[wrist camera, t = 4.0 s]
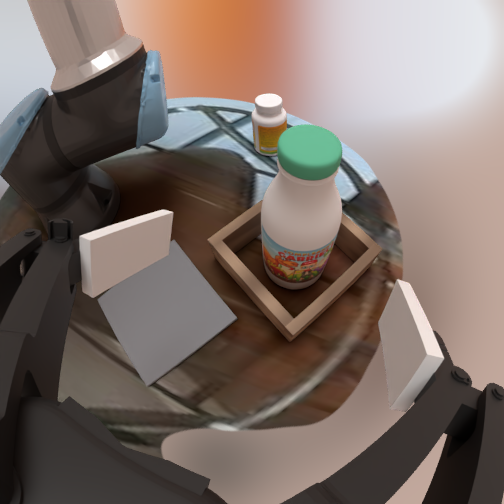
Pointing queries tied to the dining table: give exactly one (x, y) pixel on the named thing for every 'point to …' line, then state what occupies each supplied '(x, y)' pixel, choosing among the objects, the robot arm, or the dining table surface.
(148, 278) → the rubber mat
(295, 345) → the dining table surface
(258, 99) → the supplement bottle
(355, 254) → the walnut crate
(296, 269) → the milk bottle
